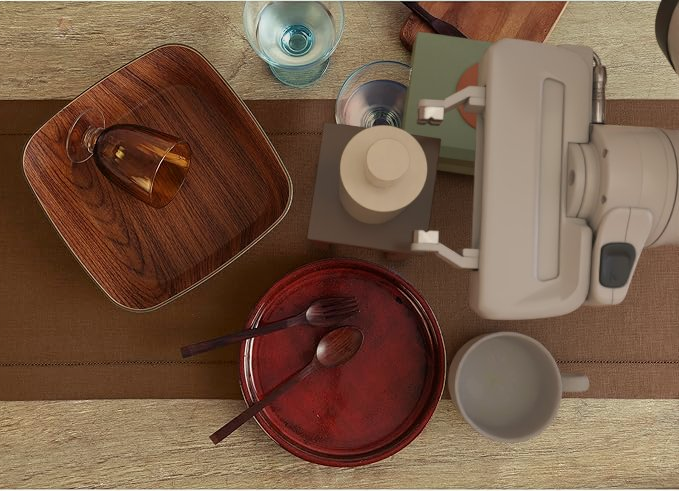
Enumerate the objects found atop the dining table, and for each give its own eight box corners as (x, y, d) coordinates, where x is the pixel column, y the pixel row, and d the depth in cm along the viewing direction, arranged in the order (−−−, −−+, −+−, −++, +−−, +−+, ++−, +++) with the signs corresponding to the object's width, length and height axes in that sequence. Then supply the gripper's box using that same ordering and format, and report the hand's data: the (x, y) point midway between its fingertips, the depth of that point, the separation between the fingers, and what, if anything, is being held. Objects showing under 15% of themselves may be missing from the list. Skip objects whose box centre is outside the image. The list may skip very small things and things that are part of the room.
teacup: (433, 416, 67) (448, 434, 59) (448, 319, 68) (463, 324, 60) (557, 436, 68) (588, 456, 60) (570, 338, 68) (602, 346, 60)
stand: (325, 163, 69) (323, 121, 51) (412, 175, 69) (441, 138, 51) (312, 250, 68) (306, 239, 50) (400, 263, 68) (425, 256, 50)
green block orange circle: (412, 45, 70) (421, 19, 63) (567, 68, 70) (593, 44, 63) (396, 164, 69) (403, 151, 62) (552, 187, 69) (577, 176, 62)
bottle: (338, 152, 51) (341, 112, 39) (410, 153, 51) (434, 113, 39) (337, 224, 50) (340, 205, 38) (409, 224, 51) (434, 206, 39)
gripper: (628, 29, 42) (428, 17, 42) (620, 328, 41) (414, 317, 41) (589, 62, 48) (415, 52, 48) (581, 321, 47) (402, 312, 47)
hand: (414, 175), depth 44 cm, fingers open, 8 cm apart
